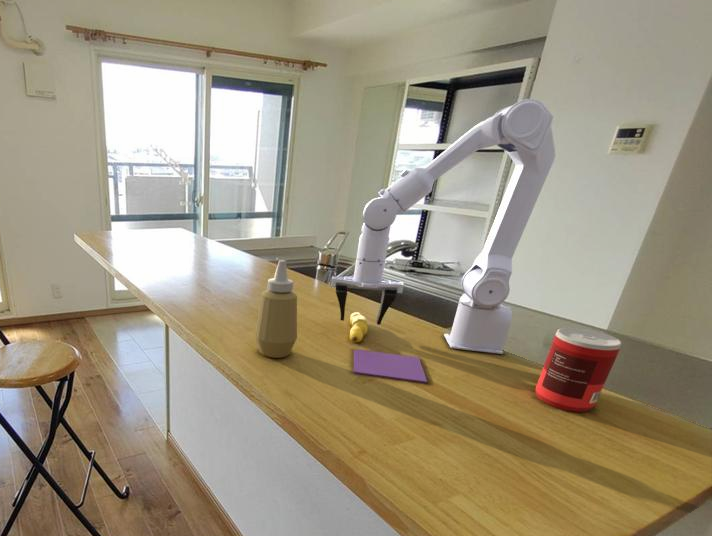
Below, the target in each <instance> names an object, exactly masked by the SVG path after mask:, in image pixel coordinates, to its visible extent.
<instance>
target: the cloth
mask: <svg viewBox="0 0 712 536" xmlns="http://www.w3.org/2000/svg"><path fill="white" fill-rule="evenodd" d="M353 374H358V375H365V376H372V377H380V378H388V379H393V380H402V381H407V382H416V383H424V384H427V383H428V380H427V376H426V374H425V371H424V368H423V366H422V363H421V360H420V357H419V356H412V355H404V354H396V353H389V352H388V353H387V352H380V351H372V350H364V349H356V348H354V349H353Z"/></svg>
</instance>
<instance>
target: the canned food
mask: <svg viewBox="0 0 712 536" xmlns="http://www.w3.org/2000/svg"><path fill="white" fill-rule="evenodd" d="M621 347H622V341H621V340H620V339H618V338H616V337H615V336H612V335H610V334H607V333H604V332H601V331H598V330H594V329H593V330H591V329H586V328H581V327H563V328H562V327H561V328H558V329H557V330H556V332H555V335H554V338H553V340H552V342H551V345H550V348H549V351H548V353H547V357H546V358H545V362H544V364H543V367H542V370H541V373H540V376H539V378H538V381H537V383H536V385H535V396H536V397H537V398H538V400H540V401H541V402H543V403H545V404H547V405H548V406H550V407H553V408H555V409H559V410H563V411H568V412H574V413H584V412H589V411H590V410H592V409H593V407H595V405H596V404H597V402H598V400H599V397H600V395H601V394H602V393H601V392H602V390H603V388H604V386H605V384H606V381H607V379H608V377H609V375H610V373H611V371H612V369H613V366H614V364H615V362H616V360H617V357H618V356H619V352H620V351H621V350H620V349H621Z"/></svg>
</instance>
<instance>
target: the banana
mask: <svg viewBox="0 0 712 536" xmlns="http://www.w3.org/2000/svg"><path fill="white" fill-rule="evenodd" d="M349 317H350V318H349V323H350V325H351V328H350V331H349V339H350V341H351V342H353V343H360V342H362V340H363V338H364V336H366V334H368V331H369V328H368V327H369V326H368V319H367V317H366V316H364V315H362V314H361V313H360V312H357V311H356V312H353V313H351V315H350V316H349Z"/></svg>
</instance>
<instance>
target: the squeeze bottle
mask: <svg viewBox="0 0 712 536" xmlns="http://www.w3.org/2000/svg"><path fill="white" fill-rule="evenodd" d="M266 288H267V289H266V290H264V291H263V292H262V293H261V298H260V303H259V309H258V316H257V321H256V327H255V334H254V336H255V339H256V344H257V347H258V351H259V353H260V354H261V355H263V356H265V357H269V358H274V359H275V358H276V359H280V358H281V359H282V358H285V357H288V356H289V355H290V354H291V352H292V350H293V347H294V345H295V344H296V341H297V339H298V295H297V293H296V292H294V291H293V290H294V281H293V280H292V279H290V278H288V270H287V261H286V260H284V259H279V260H278V263H277V266H276V269H275V273H274V275H273V277H272V278H268V280H267V286H266Z"/></svg>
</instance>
